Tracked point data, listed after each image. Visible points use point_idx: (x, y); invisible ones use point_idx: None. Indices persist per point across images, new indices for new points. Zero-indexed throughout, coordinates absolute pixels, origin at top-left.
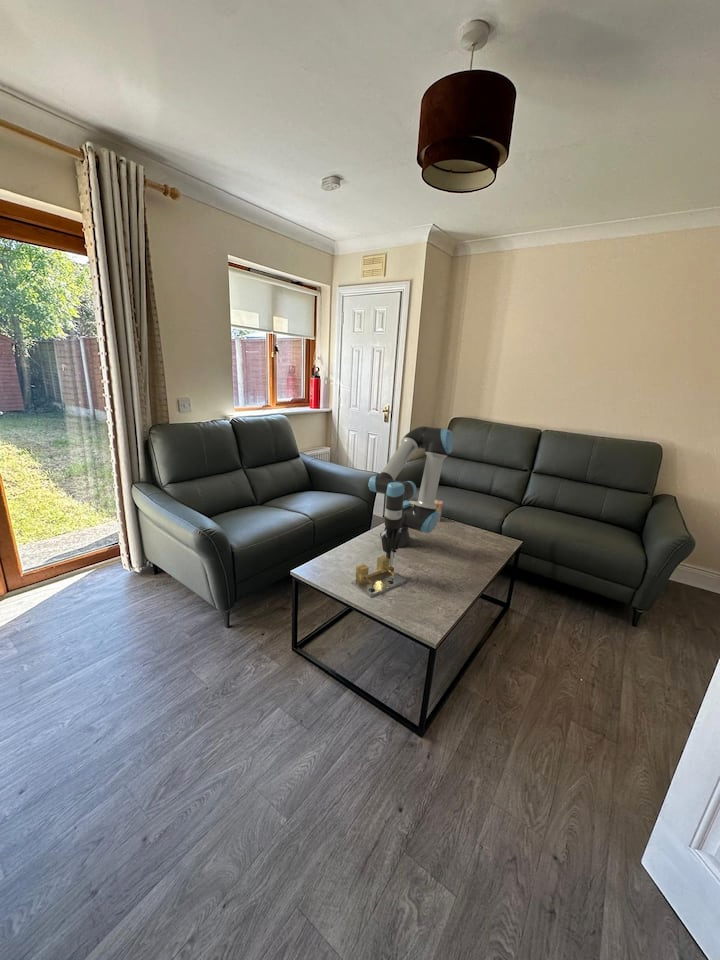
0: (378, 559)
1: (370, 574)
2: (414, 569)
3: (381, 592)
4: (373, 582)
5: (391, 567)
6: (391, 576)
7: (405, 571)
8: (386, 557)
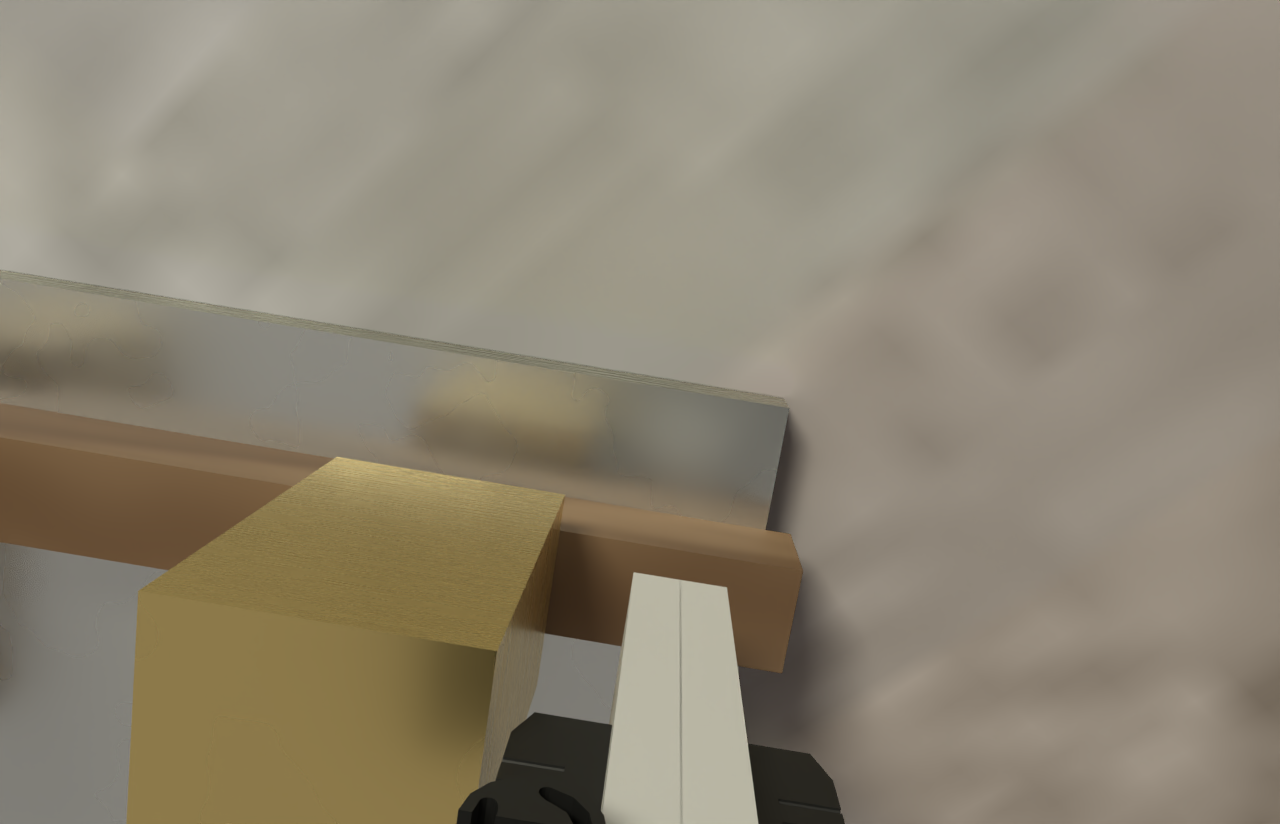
0: (161, 634)
1: (87, 470)
2: (1242, 812)
3: None
4: (95, 592)
5: (749, 619)
6: (566, 710)
7: (1029, 728)
8: (452, 807)
